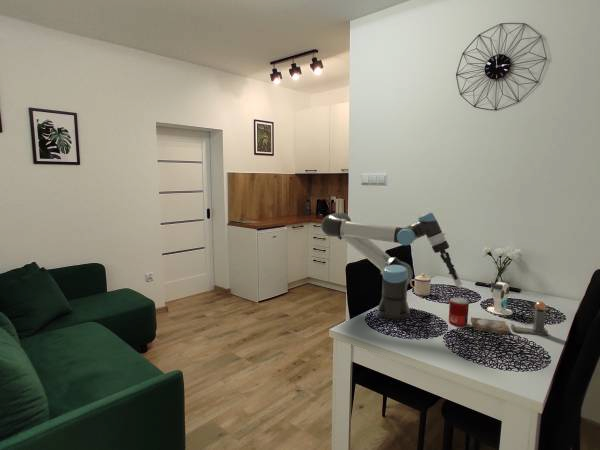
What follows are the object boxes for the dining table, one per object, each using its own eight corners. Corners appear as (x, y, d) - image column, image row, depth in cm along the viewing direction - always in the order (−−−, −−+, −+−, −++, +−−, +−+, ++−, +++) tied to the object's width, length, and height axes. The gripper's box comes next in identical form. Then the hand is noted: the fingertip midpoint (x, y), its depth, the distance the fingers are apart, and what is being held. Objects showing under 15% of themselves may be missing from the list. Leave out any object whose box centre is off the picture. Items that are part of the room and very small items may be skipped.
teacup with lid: (432, 293, 215) (433, 273, 214) (426, 296, 209) (427, 276, 207) (413, 289, 223) (414, 270, 222) (406, 292, 217) (407, 273, 215)
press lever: (534, 331, 158) (536, 302, 156) (531, 328, 162) (534, 299, 160) (545, 332, 157) (547, 303, 155) (542, 329, 160) (544, 301, 159)
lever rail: (512, 331, 161) (513, 327, 161) (510, 328, 164) (511, 324, 164) (547, 336, 156) (547, 331, 156) (544, 332, 160) (545, 328, 160)
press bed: (473, 329, 162) (473, 325, 162) (470, 320, 174) (471, 316, 173) (509, 334, 158) (509, 330, 157) (504, 324, 169) (504, 320, 169)
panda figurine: (507, 317, 178) (509, 287, 176) (483, 311, 186) (485, 282, 185) (515, 311, 186) (518, 282, 184) (492, 305, 195) (494, 278, 193)
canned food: (469, 327, 165) (470, 303, 164) (450, 325, 167) (451, 302, 166) (465, 320, 173) (466, 298, 172) (447, 319, 174) (448, 297, 173)
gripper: (448, 242, 168) (469, 285, 166) (444, 237, 192) (462, 275, 190) (432, 248, 170) (452, 291, 168) (430, 243, 194) (448, 280, 192)
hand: (458, 282), depth 179 cm, fingers open, 13 cm apart
